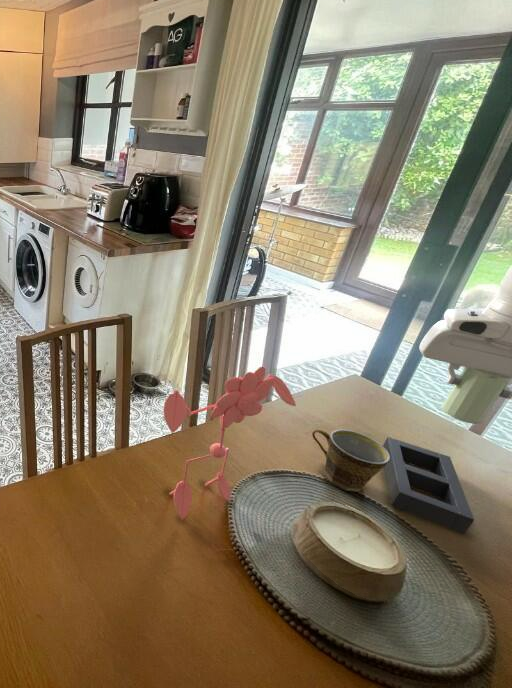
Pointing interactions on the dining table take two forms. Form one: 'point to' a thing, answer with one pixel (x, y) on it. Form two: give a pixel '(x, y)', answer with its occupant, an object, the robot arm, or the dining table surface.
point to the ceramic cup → (352, 458)
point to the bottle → (474, 395)
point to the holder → (426, 485)
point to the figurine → (223, 422)
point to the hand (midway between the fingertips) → (476, 389)
